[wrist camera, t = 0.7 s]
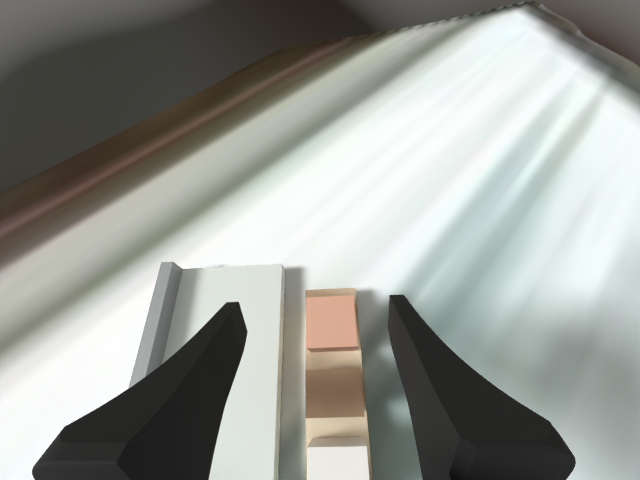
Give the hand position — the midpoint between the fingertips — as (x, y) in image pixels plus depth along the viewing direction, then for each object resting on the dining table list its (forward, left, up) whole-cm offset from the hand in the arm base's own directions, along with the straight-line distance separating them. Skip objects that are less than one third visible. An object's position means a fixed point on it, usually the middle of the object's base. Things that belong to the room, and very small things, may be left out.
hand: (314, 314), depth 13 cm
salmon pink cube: (+2, -1, -13) cm, 14 cm away
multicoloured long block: (-3, -1, -16) cm, 16 cm away
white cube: (-9, -1, -13) cm, 16 cm away
